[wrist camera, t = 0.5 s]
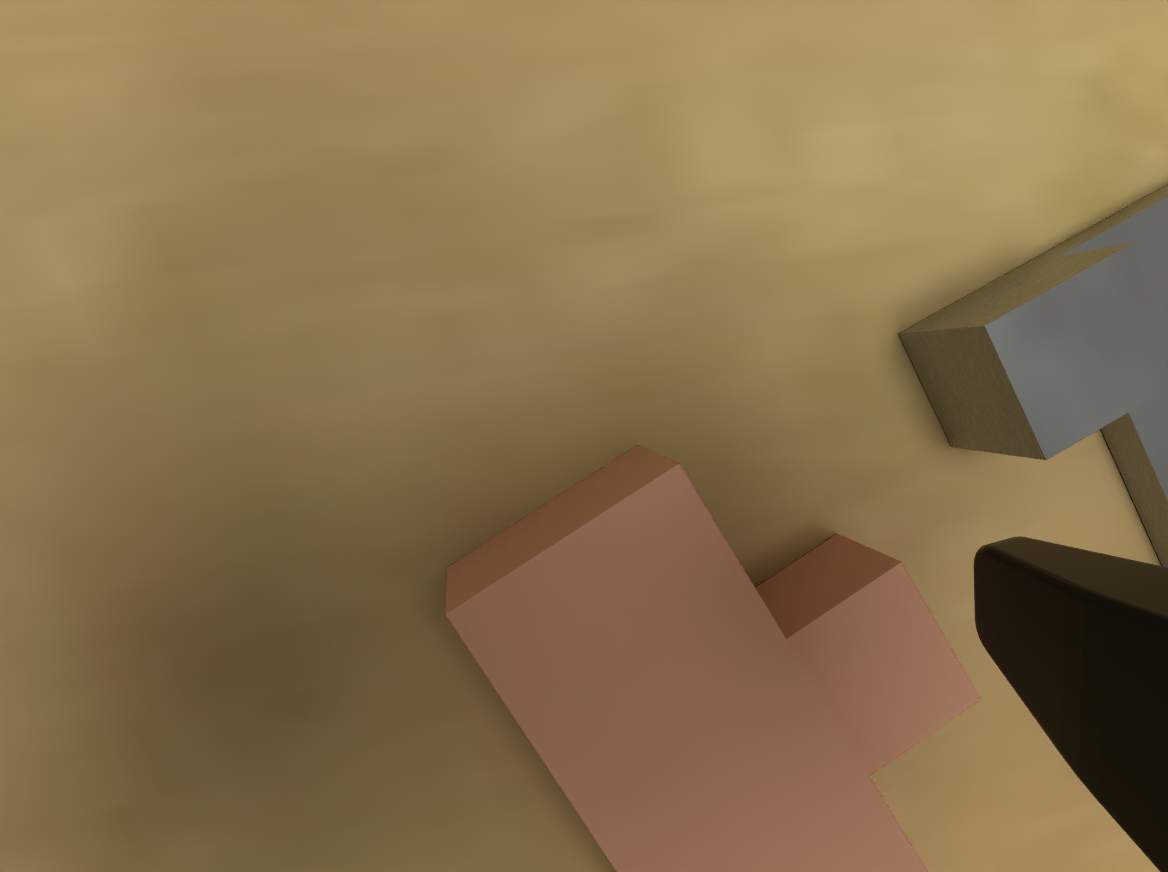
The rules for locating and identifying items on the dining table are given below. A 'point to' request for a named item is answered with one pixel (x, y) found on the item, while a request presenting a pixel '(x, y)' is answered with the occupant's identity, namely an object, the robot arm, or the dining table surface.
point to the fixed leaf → (1065, 355)
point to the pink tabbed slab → (706, 678)
